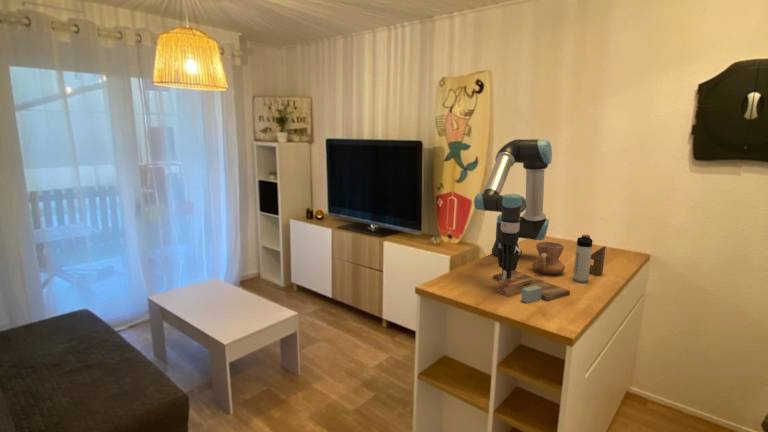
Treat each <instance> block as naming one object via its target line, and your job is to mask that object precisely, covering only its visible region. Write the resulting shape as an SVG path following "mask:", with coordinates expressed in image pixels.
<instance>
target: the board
mask: <svg viewBox="0 0 768 432" xmlns="http://www.w3.org/2000/svg"><path fill="white" fill-rule="evenodd" d="M512 277H513V278H515V279H518V280H520V281H522V280H526V279H532V282H531V283H527V284H523V288H527V287H531V286H535V285H536V286H539V287H541V288H542V294H541V300H542V301H545V302H550V301H553V300H557V299H560V298H564V297H567V296H570V294H571V290H568V289H566V288H563V287H560V286H558V285H556V284H553V283H550V282H547V281H544V280H543V279H539V278H536V277H534V276H531V275H528V274H525V273H523V272H520V271H517V270H514V271H511V278H512ZM493 278H494V279H493ZM492 279H493V280H495V279H496V280H495V281H497V280H498V282H499V280H503V276H502V272H501V273H496V274H493V275H492Z"/></svg>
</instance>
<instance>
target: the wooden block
mask: <svg viewBox="0 0 768 432" xmlns="http://www.w3.org/2000/svg"><path fill="white" fill-rule="evenodd" d="M582 236H583V237H586V238H590V239H591V235H589V234H582V235H581V237H582ZM606 247H607V246H606V245H604V246H602V247H601V248H599V249H598V250H596V251H595V252H593V253H591V260H592V263H593V264H590V270H589V275H595V276H599V277H600V276H602V275H603V274H604V273H603V272H604V265H605V264H604V263H605V256H606Z"/></svg>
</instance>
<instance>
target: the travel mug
mask: <svg viewBox="0 0 768 432" xmlns="http://www.w3.org/2000/svg"><path fill="white" fill-rule="evenodd" d="M576 240H577V241H576V249H575V256H574V257H575V258H574V259H575V260H574V267H573V268H574V269H573V276H572V279H573V281H574V282H576V283H580V284H583V283H584V284H586V283H588V282H589V279H590V277H589V276H590V273H589V270H590V265H591V260H592V259H591V254H592V251H593V250H592V249H593V242H594V241H593V239H592V238H591V237H590V238H586V237H583V236H582V235H581V236H580V237H577V239H576Z"/></svg>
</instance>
